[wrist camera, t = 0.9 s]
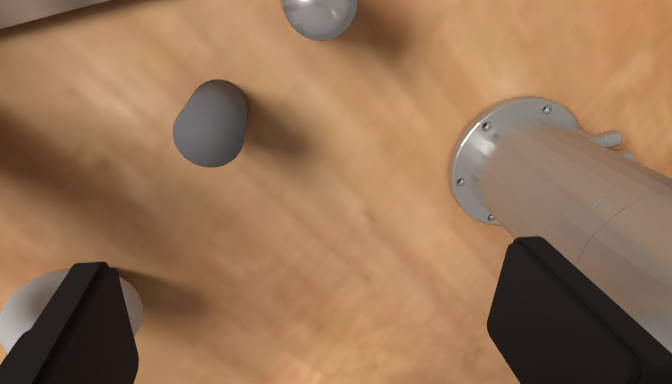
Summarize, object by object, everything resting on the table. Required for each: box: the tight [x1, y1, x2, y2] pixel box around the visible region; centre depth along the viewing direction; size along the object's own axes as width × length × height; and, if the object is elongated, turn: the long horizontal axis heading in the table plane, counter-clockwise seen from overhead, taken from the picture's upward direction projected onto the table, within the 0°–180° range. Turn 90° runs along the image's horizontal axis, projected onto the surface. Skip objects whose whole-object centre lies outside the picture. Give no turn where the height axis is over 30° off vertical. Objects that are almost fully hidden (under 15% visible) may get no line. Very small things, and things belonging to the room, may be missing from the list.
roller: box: [173, 80, 248, 167], centre depth 29 cm, size 4×4×7 cm
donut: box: [0, 269, 143, 354], centre depth 33 cm, size 10×4×10 cm, turn 70°
